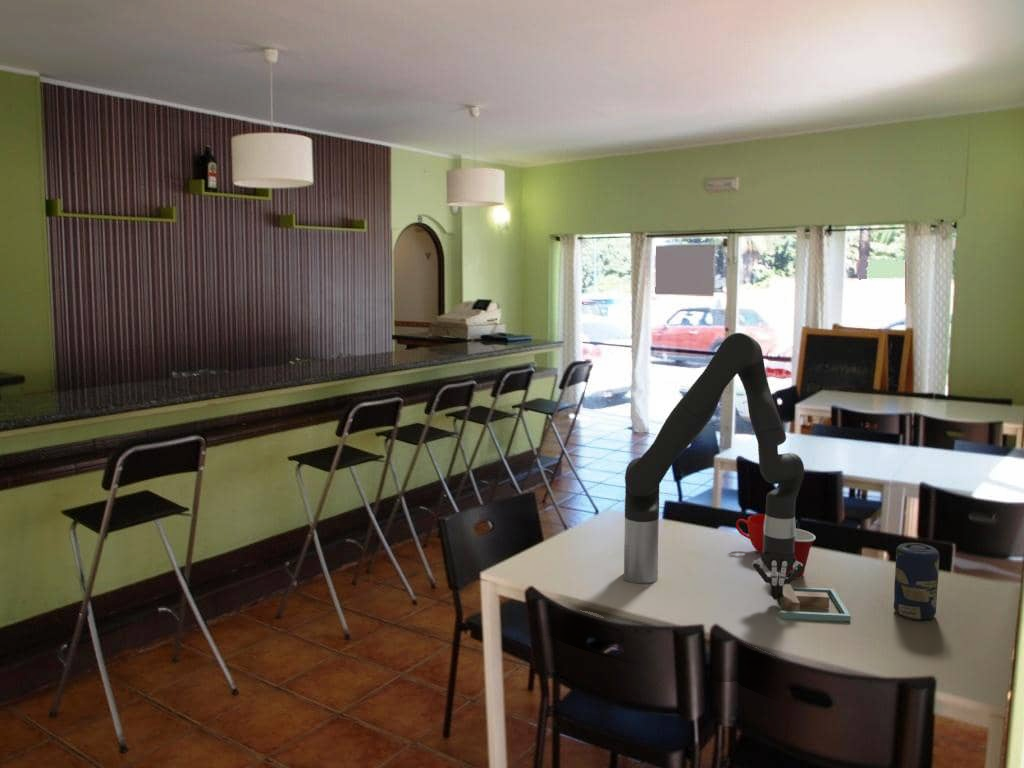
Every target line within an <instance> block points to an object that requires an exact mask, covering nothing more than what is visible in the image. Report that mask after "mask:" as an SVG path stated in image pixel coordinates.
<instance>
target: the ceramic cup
mask: <svg viewBox="0 0 1024 768" xmlns="http://www.w3.org/2000/svg"><path fill="white" fill-rule="evenodd" d="M765 514H766V513H764V514H763V513H762V514H761V513H760V514H753V515H751V516H749V517H748V518H747V520H746V519H744V518H739V519H738V520H736V522H735V527H736V529H737V531H738V533H739V534H740V535H742V536H743V537H744V538H747V539H748V540H749V541H750V543H751V545H752V547H753V548H754V550H756V552H757V554H759V555H761V553H762V551H763V535H764V530H763V527H764V520H765ZM740 522H743V523H744V524H745V525H746V526H747V530H748V534H747V533H745V532H744V531H743V530H742V529H741V528H740V526H739V523H740Z"/></svg>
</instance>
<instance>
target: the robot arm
mask: <svg viewBox="0 0 1024 768" xmlns="http://www.w3.org/2000/svg"><path fill="white" fill-rule="evenodd" d="M736 376H738V377H739V379H740V381H741V384H742V387H743V388H744V392H745V396H746V401H747V411H748V416H749V420H750V423H751V426H752V430H753V432H754V435H755V437H756V441H757V447H758V448H757V449H758V466H759V470H760V474H761V476H762V478H763V479H764V480H765V481H766V482H767V483H769V484H772V485H776V487H775V488H774V489H772V490H770V491H769V492H767V494H766V498H765V513H764V514H765V520H764V527H763V530H764V535H763V551H762V553H761V554H759V555H760V557H759V558H757V559H756V560H755V559H753V560H752V561H751V565H752V566H753V568H754V569H755V572H757V573H758V574H759V577H760V578H761V579H762V580H763V581H764V583H766V584H770V586H769V593H770V596H771V598H773V600H776V601H777V600H779V601H780V598H782V596H783V585H785V584H790V585H791V584H792V583H793V582H794V580H795V579H796V577H797V576H798V575H799V574H800V573H801V572H802V571H803V570H804V566H803V564H802V563H800V562H798V561H797V560H796V557H795V555H794V547H795V528H796V529H797V527H796V503H797V502H796V501H797V498H798V495H799V492H800V490H801V486H802V483H803V480H804V476H805V467H804V466H805V465H804V461H803V460H802V458H801V457H800V456H799V455H798V454H796V453H794V452H787V453H780V454H779V446H781V445H783V444H784V443H785V442H786V440H787V435H786V431H785V429H784V425H783V423H782V419H781V417H780V414H779V412H778V408H777V406H776V403H775V401H774V398H773V395H772V392H771V389H770V386H769V385H770V384H769V380H768V377H767V373H766V366H765V361H764V354H763V350H762V346H761V345H760V344H759V342H758V341H757V340H756V339H755V338H752V337H751V336H750V335H748V334H746V333H743V332H734V333H732V334H729V335H728V336H726V338H724V340H723V341H722V342H721V344H720V345H719V347H718V348H717V350H716V352H715V353H714V355H713V356H712V358H711V359H710V361H709V363H708V365H707V366H706V367H705V369H703V372H702V373H701V374H700V375H699V377H698V378H697V379H696V380H695V382H694V383H693V384H692V385H691V386H690V388H689V389H688V391H686V393H685V394H684V395H683V396H682V398H681V399H680V400H679V401H678V403H677V404H675V407H674V408H673V409H672V410H671V412H670V413H669V414H668V416H667V418H666V419H665V421H664V423H663V425H662V426H661V428H660V430H659V432H658V433H657V436H656V438H655V439H654V441H653V442H652V443H651V446H650V447H649V448H648V449H647V450H646V451H645V452H644V453H643V455H642V456H641V457H636V458H634V459H632V460H631V461H630V462H629V463H628V465H627V467H626V468H625V469H626V470H625V475H624V483H625V491H624V492H625V495H624V538H623V539H624V541H623V542H624V544H623V545H624V546H623V547H624V549H623V551H624V552H623V581H626V582H627V581H629V582H631V583H635V584H650V583H653V582H656V581H657V580H658V578H659V535H660V534H659V530H660V529H659V528H660V524H659V523H660V519H659V518H660V484H661V483H662V481H663V479H664V478H665V476H666V474H667V473H668V472H669V470H670V468H671V467H672V465H673V464H674V462H675V461H676V460H677V459H678V458H679V457H680V455H682V454H683V453H684V452H685V450H687V448H688V447H689V446H690V444H692V443H693V441H694V440H695V439H696V438H697V437H698V436H699V434H700V433H701V432H702V431H703V430H704V428H706V426H707V425H708V423H709V422H710V421H711V419H712V418H713V416H714V415H715V413H716V410H717V407H718V405H719V403H720V401H721V397H722V395H723V394H724V392H725V389H726V387H727V386H728V385H729V384H730V382H731V381H732V380H733V379H734V378H735V377H736ZM763 564H764V566H765V567H766V568H767V570H768V571H769V575H768V574H767V573H766V572H765V571H764V569H763V567H764V566H763ZM793 564H794V565H793ZM792 565H793V569H792V570H791V571H790V572H789V573H788V574H787V575H786V571H788V570H789V569H790V567H791V566H792ZM804 571H805V570H804ZM785 575H786V576H785Z"/></svg>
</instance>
